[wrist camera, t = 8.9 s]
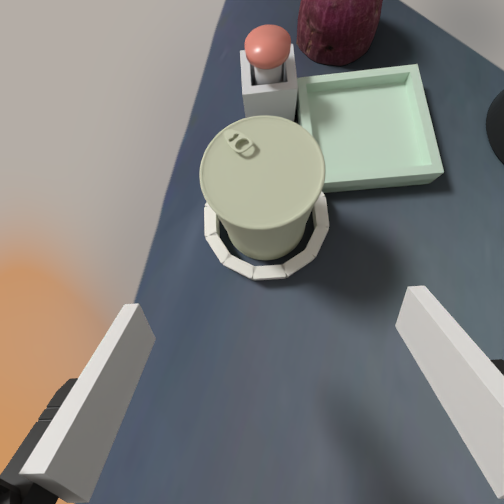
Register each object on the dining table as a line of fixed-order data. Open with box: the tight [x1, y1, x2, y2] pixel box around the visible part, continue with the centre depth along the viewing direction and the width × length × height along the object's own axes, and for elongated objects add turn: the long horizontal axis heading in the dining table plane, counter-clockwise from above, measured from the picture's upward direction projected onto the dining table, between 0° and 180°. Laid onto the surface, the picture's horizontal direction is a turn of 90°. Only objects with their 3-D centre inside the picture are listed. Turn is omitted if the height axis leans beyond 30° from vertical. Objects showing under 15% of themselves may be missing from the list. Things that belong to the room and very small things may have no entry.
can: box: [200, 115, 325, 260], centre depth 23 cm, size 9×9×12 cm
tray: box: [296, 64, 444, 193], centre depth 29 cm, size 14×14×2 cm
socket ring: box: [204, 191, 329, 281], centre depth 28 cm, size 14×14×2 cm
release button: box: [245, 25, 291, 85], centre depth 28 cm, size 5×5×6 cm
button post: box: [240, 44, 298, 122], centre depth 30 cm, size 6×6×5 cm
